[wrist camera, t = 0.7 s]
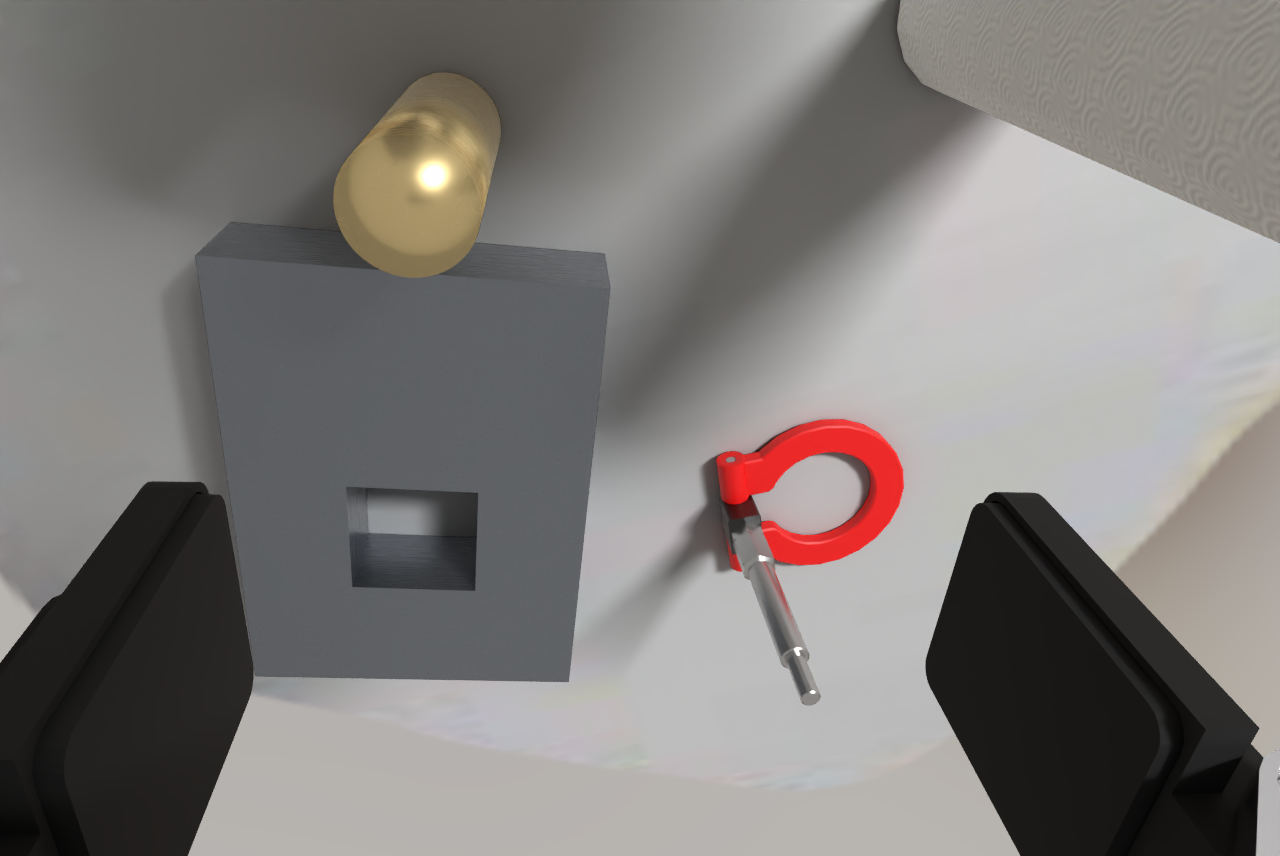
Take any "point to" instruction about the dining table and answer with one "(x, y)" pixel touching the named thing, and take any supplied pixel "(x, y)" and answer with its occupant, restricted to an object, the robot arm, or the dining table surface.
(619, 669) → the dining table surface
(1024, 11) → the paper towel roll
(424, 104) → the brass pin
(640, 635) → the dining table surface
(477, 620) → the grey block with hole
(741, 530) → the tow hook
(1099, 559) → the robot arm
